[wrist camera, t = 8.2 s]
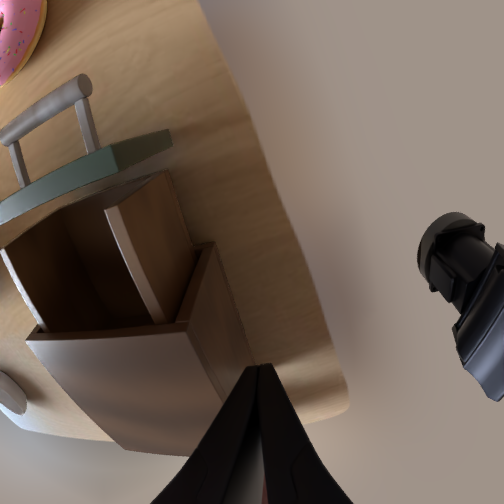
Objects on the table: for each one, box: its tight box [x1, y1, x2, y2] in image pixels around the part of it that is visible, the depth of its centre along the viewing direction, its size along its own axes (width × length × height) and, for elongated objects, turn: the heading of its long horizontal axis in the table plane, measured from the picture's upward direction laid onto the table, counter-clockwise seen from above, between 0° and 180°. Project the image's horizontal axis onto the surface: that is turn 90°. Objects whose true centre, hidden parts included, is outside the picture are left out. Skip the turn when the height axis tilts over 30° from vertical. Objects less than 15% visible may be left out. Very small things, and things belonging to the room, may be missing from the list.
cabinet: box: [25, 242, 256, 457], centre depth 21 cm, size 15×13×10 cm
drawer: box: [0, 74, 198, 333], centre depth 16 cm, size 18×11×8 cm, turn 13°
